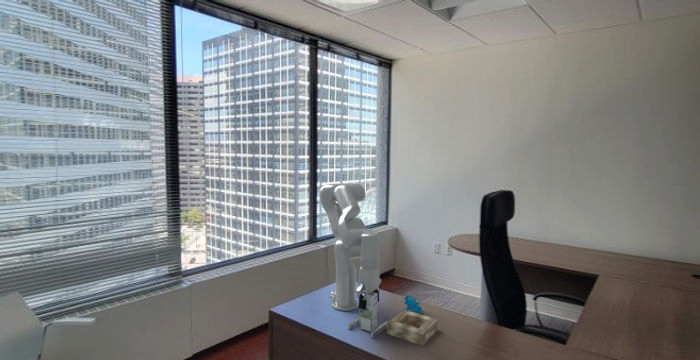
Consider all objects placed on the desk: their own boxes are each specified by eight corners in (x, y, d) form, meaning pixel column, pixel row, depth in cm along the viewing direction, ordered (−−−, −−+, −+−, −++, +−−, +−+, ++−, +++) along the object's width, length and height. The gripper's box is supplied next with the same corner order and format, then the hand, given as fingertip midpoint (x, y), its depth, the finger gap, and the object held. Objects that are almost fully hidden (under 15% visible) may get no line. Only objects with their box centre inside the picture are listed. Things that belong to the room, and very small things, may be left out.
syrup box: (377, 326, 154) (378, 292, 153) (371, 332, 149) (372, 297, 147) (364, 323, 156) (365, 289, 155) (358, 329, 151) (359, 294, 150)
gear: (414, 316, 160) (402, 295, 164) (405, 323, 162) (393, 302, 167) (427, 312, 168) (415, 292, 173) (418, 318, 171) (406, 298, 176)
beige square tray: (386, 333, 148) (387, 322, 148) (404, 319, 160) (404, 309, 160) (422, 345, 139) (422, 334, 139) (437, 330, 152) (437, 319, 151)
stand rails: (347, 329, 151) (347, 324, 151) (363, 318, 161) (363, 314, 161) (372, 338, 144) (373, 333, 144) (388, 326, 154) (388, 321, 154)
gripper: (373, 256, 159) (372, 296, 160) (349, 266, 145) (349, 309, 146) (388, 260, 155) (387, 300, 156) (366, 270, 141) (365, 314, 142)
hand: (369, 304), depth 151 cm, fingers open, 9 cm apart
